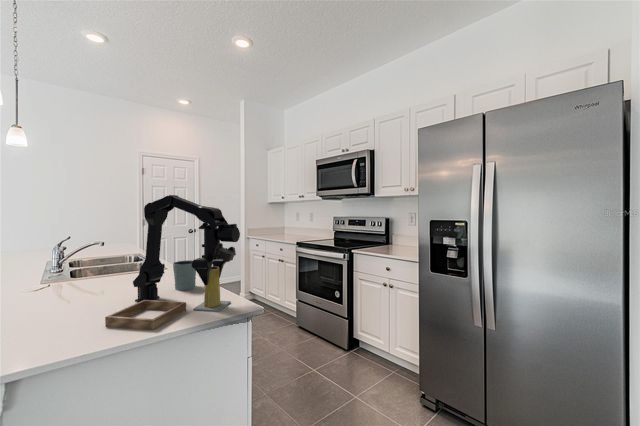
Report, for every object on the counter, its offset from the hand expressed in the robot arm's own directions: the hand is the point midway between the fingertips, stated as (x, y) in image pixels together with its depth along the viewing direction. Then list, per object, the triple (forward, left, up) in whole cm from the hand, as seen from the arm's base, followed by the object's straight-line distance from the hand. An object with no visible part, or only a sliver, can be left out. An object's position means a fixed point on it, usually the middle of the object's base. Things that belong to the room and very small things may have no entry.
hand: (212, 281), depth 113 cm
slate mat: (0, 0, -10) cm, 10 cm away
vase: (0, 0, -9) cm, 9 cm away
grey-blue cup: (-25, +21, -10) cm, 34 cm away
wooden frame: (-16, -14, -10) cm, 23 cm away
